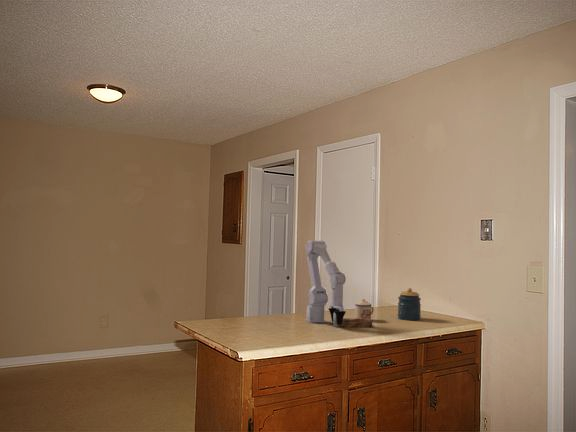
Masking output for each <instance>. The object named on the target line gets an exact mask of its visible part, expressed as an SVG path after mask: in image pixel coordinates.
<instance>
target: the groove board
mask: <svg viewBox="0 0 576 432" xmlns="http://www.w3.org/2000/svg"><path fill="white" fill-rule="evenodd" d="M340 327H341V328H351V329H352V328H373V321H371V320H370V321H368V320H366V319H364V318H355V317H353V318H344V317H343V320H342V324H341V325H340Z"/></svg>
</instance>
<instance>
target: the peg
mask: <svg viewBox="0 0 576 432" xmlns="http://www.w3.org/2000/svg"><path fill="white" fill-rule="evenodd" d="M332 324H333V325H332V326H333V328H340V327H341V326H340V325H337V321H336V315H335V313H334V316H333V322H332Z"/></svg>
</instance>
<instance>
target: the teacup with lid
mask: <svg viewBox="0 0 576 432" xmlns="http://www.w3.org/2000/svg"><path fill="white" fill-rule="evenodd" d="M374 311H375V310H374V307H373V306H372V303H370V302H368V301H366V299H365V298H362V299H361V300H360V301H358V302H355V313H354V314H355V315H354V318H364V319H366V320H368V321H371V319H372V315H373V314H374Z"/></svg>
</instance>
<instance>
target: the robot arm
mask: <svg viewBox="0 0 576 432" xmlns="http://www.w3.org/2000/svg"><path fill="white" fill-rule="evenodd" d="M304 247H305V253H306V258H307V264H308V271H309V277H310V283H311V288H310V289H309V291H308V292H307V293H308V298H307V301H308V303H309V304H308V305H307V306H306V312H305V313H306V316H305V317H306V318H305V320H306V321H307V322H308V323H311V324H312V323H313V324H315V323H318V324H319V323H327V321H326V320H325V306H326V304H327V303H328V300H329V296H328V293H327V290H326V289H325V288H324V287H323V285H322V281H321V273H320V268H319V262H318V258H319V257H320V258H321V260H322V261H323V263H324V264H325V267H324V268H325V270H326V272H327V274H328V276H329V277H330V278H329V282H330V288H331V303H330V304H329V306H328V307H329V308H328V312H329V314H330V319H331V322H332V323H333V316H334V313H335V315H336V321H337V325H341V324H342V320H343V318H344V317H345V315H346V313H347V312H346V310H345V307H344V305H343V304H344V303H343V302H344V301H343V299H344V284H345V283H346V280H347V279H346V278H347V277H346V276H345V274H344V273H343V272H341V271H340V269H339V268H338V266H337V263H336V262H334V261H332V260H331V257H330V255H329V253H328V250H327V244H326V242H325V241H324V240H311V239H309V240H308V241H307V242H306V244H305V246H304Z"/></svg>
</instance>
